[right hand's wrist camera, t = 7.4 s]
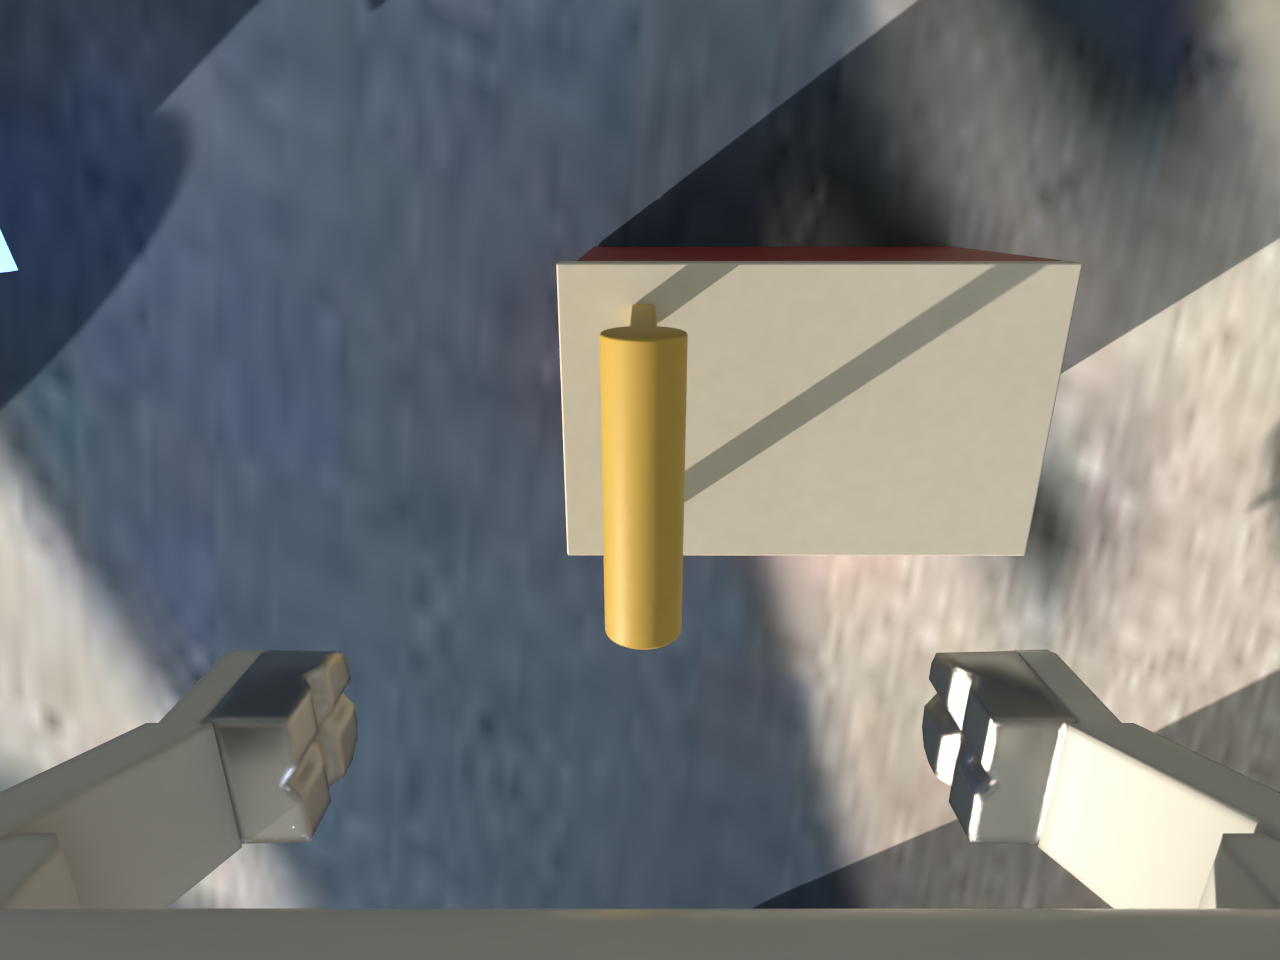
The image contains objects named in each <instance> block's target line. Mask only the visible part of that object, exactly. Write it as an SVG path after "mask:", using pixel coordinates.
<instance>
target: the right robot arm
mask: <svg viewBox="0 0 1280 960" xmlns="http://www.w3.org/2000/svg"><path fill="white" fill-rule="evenodd" d="M15 270H18V269H17V267H16V264H15V262H14V260H13V258H12V255H11V253H10V251H9V249H8V246H7V244H6V242H5V240H4V237H3V235H2V233H1V231H0V272H9V271H15ZM350 680H351V676H350V671H349V666H348V661H347V658H346V657H345V656H344V655H343V654H342V653H341V652H330V651H281V650H270V651H267V650H234V651H230V652H226V653H224V654H223V655H222V656H221V657H220V658H219V660H218V661H217V662H216V663H215V664H214V665H213V666H212V667H211V668H210V669H209V670H208V671H207V672H206V673H205V674H204V675H203V676H202V677H201V679H200V680H199V681H198V682H197V683H196V684H195V685H194V686H193V687H192V688H191V689H190V690H189V691H188V692H187V693H186V694H185V695H184V696H183V698H182V699H181V700H180V701H179V702H178V703H177V704H176V705H175V706H174V707H173V708H172V709H171V710H170V711H169V712H168V713H167V714H166V715H165V717H164V718H163V719H162V720H161V721H160V722H159V723H146V724H143V725H141V726H139V727H137V728H135V729H133V730H131V731H129V732H127V733H124V734H122V735H120V736H118V737H116V738H114V739H112V740H110V741H108V742H105V743H103V744H101V745H99V746H97V747H95V748H93V749H91V750H89V751H87V752H84V753H82V754H80V755H78V756H76V757H74V758H72V759H70V760H68V761H65V762H63V763H61V764H59V765H57V766H55V767H53V768H51V769H49V770H46V771H44V772H42V773H40V774H38V775H36V776H34V777H32V778H30V779H27V780H25V781H23V782H21V783H19V784H17V785H15V786H13V787H11V788H8V789H6V790H4V791H2V792H0V960H1280V792H1277V791H1275V790H1273V789H1271V788H1269V787H1267V786H1265V785H1263V784H1261V783H1259V782H1256V781H1254V780H1252V779H1250V778H1248V777H1246V776H1244V775H1242V774H1240V773H1238V772H1235V771H1233V770H1231V769H1229V768H1227V767H1225V766H1223V765H1221V764H1219V763H1216V762H1214V761H1212V760H1210V759H1208V758H1206V757H1204V756H1202V755H1200V754H1198V753H1195V752H1193V751H1191V750H1189V749H1187V748H1185V747H1183V746H1181V745H1179V744H1177V743H1174V742H1172V741H1170V740H1168V739H1166V738H1164V737H1162V736H1160V735H1158V734H1155V733H1153V732H1151V731H1149V730H1147V729H1145V728H1143V727H1141V726H1139V725H1137V724H1134V723H1121V722H1120V721H1119V720H1118V719H1117V718H1116V716H1115V715H1114V714H1113V713H1112V712H1111V711H1110V710H1109V709H1108V708H1107V707H1106V706H1105V705H1104V704H1103V703H1102V702H1101V701H1100V700H1099V699H1098V697H1097V696H1096V695H1095V694H1094V693H1093V692H1092V691H1091V690H1090V689H1089V688H1088V687H1087V686H1086V685H1085V684H1084V683H1083V682H1082V681H1081V679H1080V678H1079V677H1078V676H1077V675H1076V674H1075V673H1074V672H1073V671H1072V670H1071V669H1070V668H1069V667H1068V666H1067V665H1066V664H1065V663H1064V661H1063V660H1062V659H1061V658H1060V657H1059V656H1058V655H1057V654H1056V653H1053V652H1051V651H1049V650H1020V651H1000V652H955V653H936V655H935V657H934V659H933V661H932V664H931V670H930V676H929V680H930V681H931V683H932V685H933V686H934V688H935V690H936V691H937V694H936V695H935V696H934V697H933V698H932V699H931V700H930V701H929V702H928V703H927V704H926V705H925V707H924V716H923V724H922V730H923V741H924V749H925V752H926V755H927V759H928V762H929V764H930V766H931V768H932V770H933V772H934V774H935V776H936V777H937V778H939V779H940V780H942V781H943V782H945V783H946V784H947V785H949V786H950V787H951V792H950V798H949V803H950V805H951V807H952V809H953V810H954V812H955V814H956V816H957V818H958V820H959V822H960V824H961V826H962V827H963V829H964V831H965V833H966V835H967V837H968V839H969V841H970V842H995V843H1031V844H1039V845H1038V847H1039V848H1040V849H1041V850H1043V851H1044V852H1045V853H1046V854H1047V855H1049V856H1050V857H1051V858H1052V859H1054V860H1055V861H1056V862H1057V863H1058V864H1060V865H1061V866H1062V867H1063V868H1065V869H1066V870H1067V871H1068V872H1070V873H1071V874H1072V875H1073V876H1074V877H1076V878H1077V879H1078V880H1079V881H1081V882H1082V883H1083V884H1084V885H1085V886H1087V887H1088V888H1089V889H1090V890H1092V891H1093V892H1094V893H1095V894H1096V895H1098V896H1099V897H1100V898H1101V899H1103V900H1104V901H1105V902H1106V903H1107V904H1109V905H1110V906H1111V907H1112V908H1114V909H167V908H168V907H169V906H170V905H172V904H173V903H174V902H175V901H176V900H178V899H179V898H180V897H181V896H183V895H184V894H185V893H186V892H187V891H189V890H190V889H191V888H192V887H194V886H195V885H196V884H197V883H199V882H200V881H201V880H202V879H203V878H205V877H206V876H207V875H208V874H210V873H211V872H212V871H213V870H214V869H216V868H217V867H218V866H219V865H221V864H222V863H223V862H224V861H226V860H227V859H228V858H229V857H230V856H232V855H233V854H234V853H235V852H237V851H238V850H239V849H240V848H241V847H242V845H241V844H249V843H283V842H310V841H311V839H312V837H313V835H314V833H315V831H316V829H317V828H318V826H319V824H320V822H321V820H322V818H323V816H324V814H325V812H326V811H327V809H328V807H329V805H330V803H331V798H330V792H329V787H330V786H331V785H333V784H334V783H335V782H337V781H338V780H340V779H341V778H343V777H344V776H345V774H346V772H347V770H348V768H349V766H350V764H351V762H352V759H353V755H354V751H355V746H356V742H357V724H358V721H357V714H356V707H355V705H354V704H353V703H352V702H351V701H350V700H349V699H348V698H347V697H346V696H345V695H344V694H343V691H344V690H345V688H346V686H347V685H348V683H349V681H350Z"/></svg>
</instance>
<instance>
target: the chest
mask: <svg viewBox="0 0 1280 960" xmlns="http://www.w3.org/2000/svg"><path fill="white" fill-rule="evenodd" d="M577 261H1061V260H1053V259H1045V258H1037V257H1029V256H1021V255H1013V254H1005V253H997V252H989V251H981V250H973V249H965V248H956V247H594V248H592V249H591V250H590V251H588V252H587V253H586V254H585V255H584V256H582V257H581V258H580V259H579V260H577Z"/></svg>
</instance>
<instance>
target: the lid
mask: <svg viewBox="0 0 1280 960" xmlns="http://www.w3.org/2000/svg"><path fill="white" fill-rule="evenodd" d="M1081 268H1082V263H1078V262H1070V261H560V262H559V263H557V292H558V318H559V345H560V371H561V397H562V424H563V450H564V477H565V503H566V530H567V554H568V555H604V595H605V630H606V633H607V635H608V637H609V638H610V639H611V640H612V641H614V642H615V643H617V644H619V645H621V646H624V647H628V648H632V649H654V648H659V647H663V646H665V645H668V644H670V643H672V642H673V641H674V640H676V639H677V637H678V636H679V634H680V633H681V628H682V582H683V555H1025V552H1026V547H1027V542H1028V536H1029V531H1030V526H1031V521H1032V516H1033V511H1034V506H1035V501H1036V496H1037V491H1038V486H1039V481H1040V476H1041V471H1042V466H1043V460H1044V455H1045V450H1046V445H1047V440H1048V435H1049V430H1050V425H1051V420H1052V415H1053V410H1054V405H1055V400H1056V395H1057V390H1058V384H1059V379H1060V374H1061V369H1062V364H1063V359H1064V354H1065V349H1066V344H1067V339H1068V334H1069V329H1070V324H1071V319H1072V314H1073V308H1074V303H1075V298H1076V293H1077V288H1078V283H1079V278H1080V273H1081Z"/></svg>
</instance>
